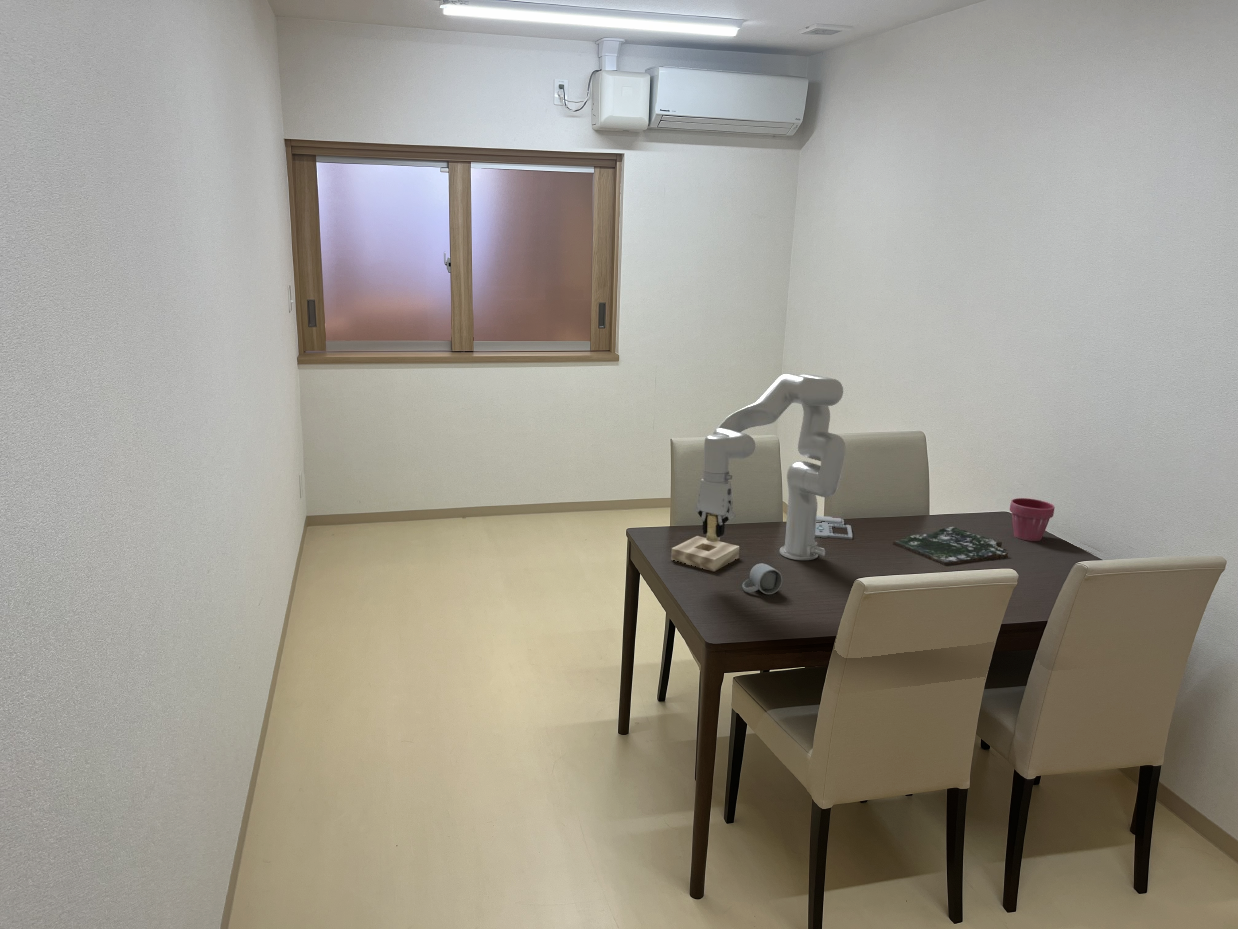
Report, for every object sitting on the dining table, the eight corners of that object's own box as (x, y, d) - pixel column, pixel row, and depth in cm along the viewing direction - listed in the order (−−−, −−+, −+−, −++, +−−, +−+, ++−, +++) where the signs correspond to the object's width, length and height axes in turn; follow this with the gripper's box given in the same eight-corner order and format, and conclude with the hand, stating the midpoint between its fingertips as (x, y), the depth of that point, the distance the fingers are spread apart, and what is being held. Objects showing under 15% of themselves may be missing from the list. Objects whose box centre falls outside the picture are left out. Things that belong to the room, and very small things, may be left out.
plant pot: (1037, 531, 316) (1042, 497, 313) (1057, 544, 303) (1062, 509, 299) (999, 530, 316) (1003, 497, 313) (1017, 543, 302) (1022, 508, 299)
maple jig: (738, 557, 281) (739, 546, 280) (714, 571, 269) (714, 559, 268) (696, 547, 290) (697, 535, 289) (671, 560, 278) (671, 548, 277)
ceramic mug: (769, 582, 261) (770, 559, 259) (782, 593, 253) (783, 568, 251) (737, 586, 258) (738, 562, 256) (749, 597, 250) (750, 572, 248)
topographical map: (892, 545, 298) (893, 537, 297) (957, 533, 314) (958, 525, 313) (952, 570, 276) (953, 561, 276) (1019, 555, 292) (1020, 547, 291)
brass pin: (722, 539, 260) (723, 514, 258) (715, 542, 257) (716, 517, 255) (710, 536, 262) (711, 511, 260) (703, 540, 259) (704, 514, 257)
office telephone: (795, 511, 326) (849, 515, 323) (795, 518, 327) (849, 522, 323) (795, 529, 304) (853, 534, 300) (794, 536, 305) (852, 541, 301)
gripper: (746, 478, 253) (743, 537, 258) (698, 469, 262) (695, 525, 267) (734, 483, 247) (731, 543, 252) (685, 474, 257) (683, 532, 261)
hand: (713, 533), depth 259 cm, fingers closed on brass pin, 4 cm apart
